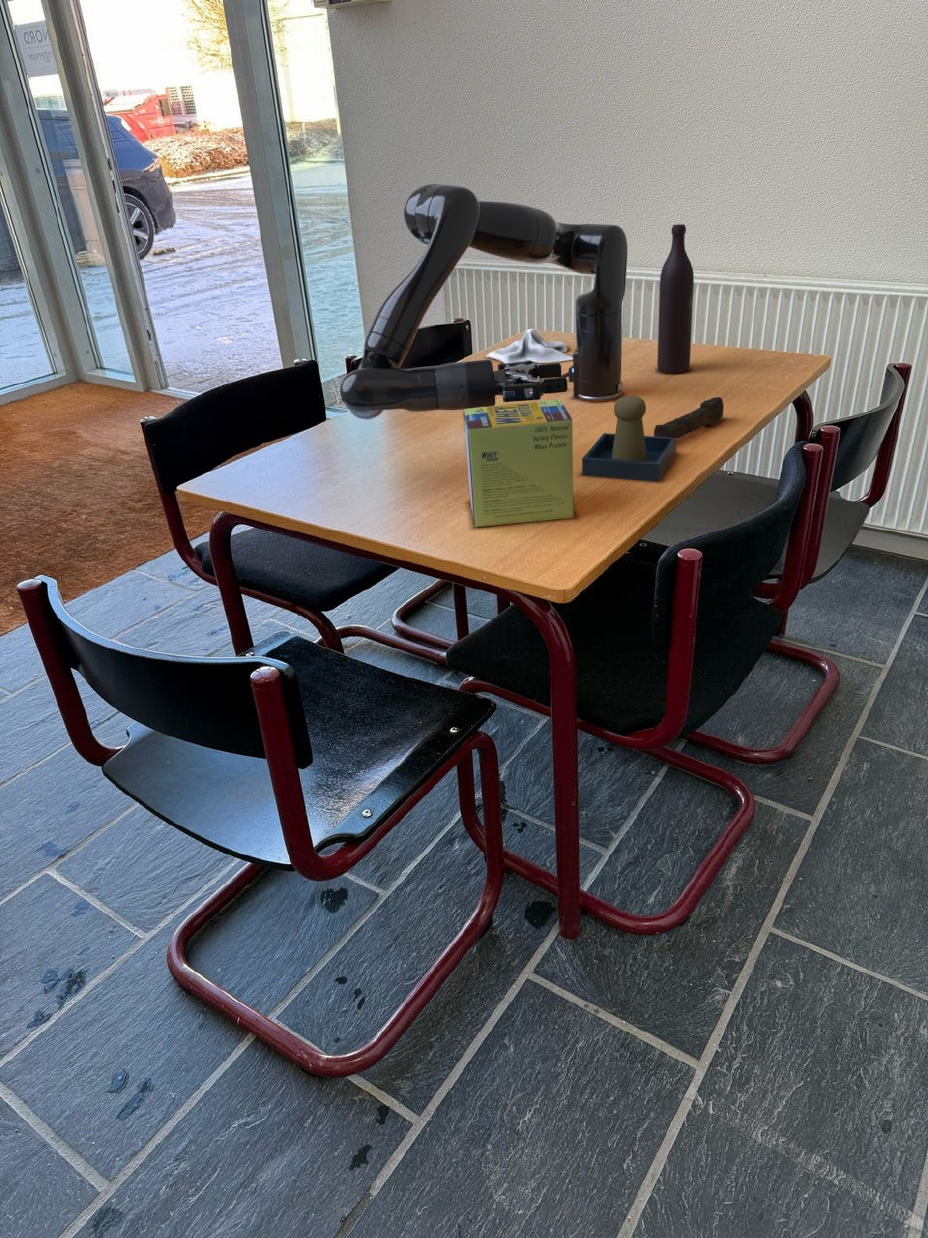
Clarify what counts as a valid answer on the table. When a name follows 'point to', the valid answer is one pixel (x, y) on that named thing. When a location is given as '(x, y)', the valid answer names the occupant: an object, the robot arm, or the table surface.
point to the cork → (629, 429)
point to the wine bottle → (675, 307)
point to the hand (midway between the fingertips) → (564, 376)
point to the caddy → (604, 466)
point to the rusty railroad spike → (692, 420)
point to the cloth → (532, 350)
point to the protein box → (519, 462)
